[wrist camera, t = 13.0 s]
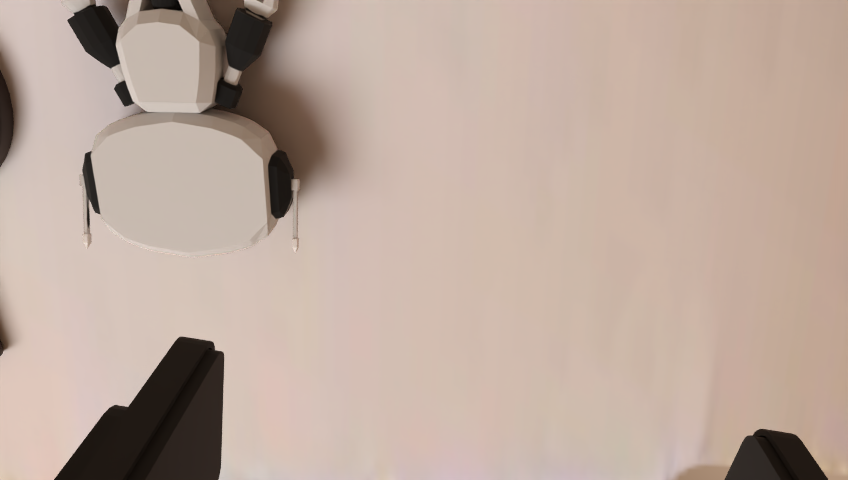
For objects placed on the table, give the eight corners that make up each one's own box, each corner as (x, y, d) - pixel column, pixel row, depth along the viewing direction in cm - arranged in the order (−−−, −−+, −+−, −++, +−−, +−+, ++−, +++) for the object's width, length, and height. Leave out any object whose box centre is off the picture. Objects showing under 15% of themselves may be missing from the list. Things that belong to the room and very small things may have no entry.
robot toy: (75, -25, 35) (116, 233, 40) (25, -29, 31) (78, 261, 36) (299, -21, 35) (311, 238, 40) (279, -25, 31) (296, 265, 36)
